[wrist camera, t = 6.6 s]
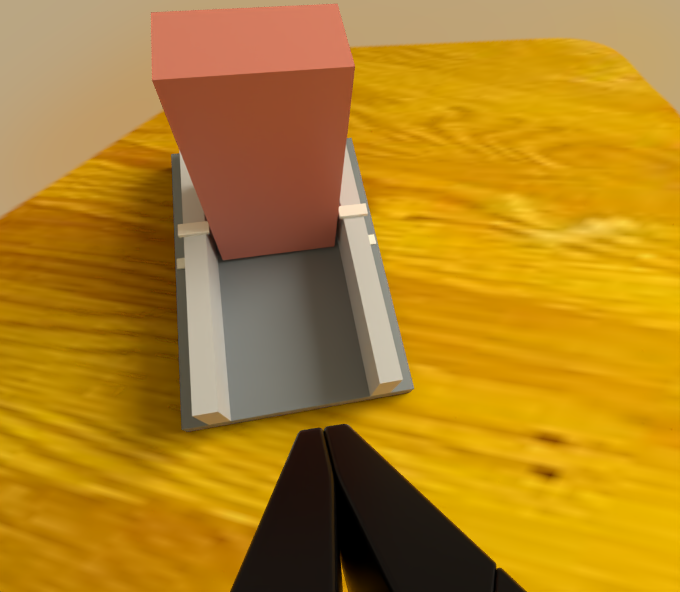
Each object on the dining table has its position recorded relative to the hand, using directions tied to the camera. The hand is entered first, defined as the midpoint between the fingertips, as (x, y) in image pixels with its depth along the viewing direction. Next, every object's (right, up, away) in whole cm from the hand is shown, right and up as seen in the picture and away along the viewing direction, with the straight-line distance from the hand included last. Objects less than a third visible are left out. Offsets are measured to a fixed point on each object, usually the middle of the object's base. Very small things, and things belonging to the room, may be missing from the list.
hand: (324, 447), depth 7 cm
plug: (-3, +6, +16) cm, 17 cm away
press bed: (-3, +4, +16) cm, 17 cm away
